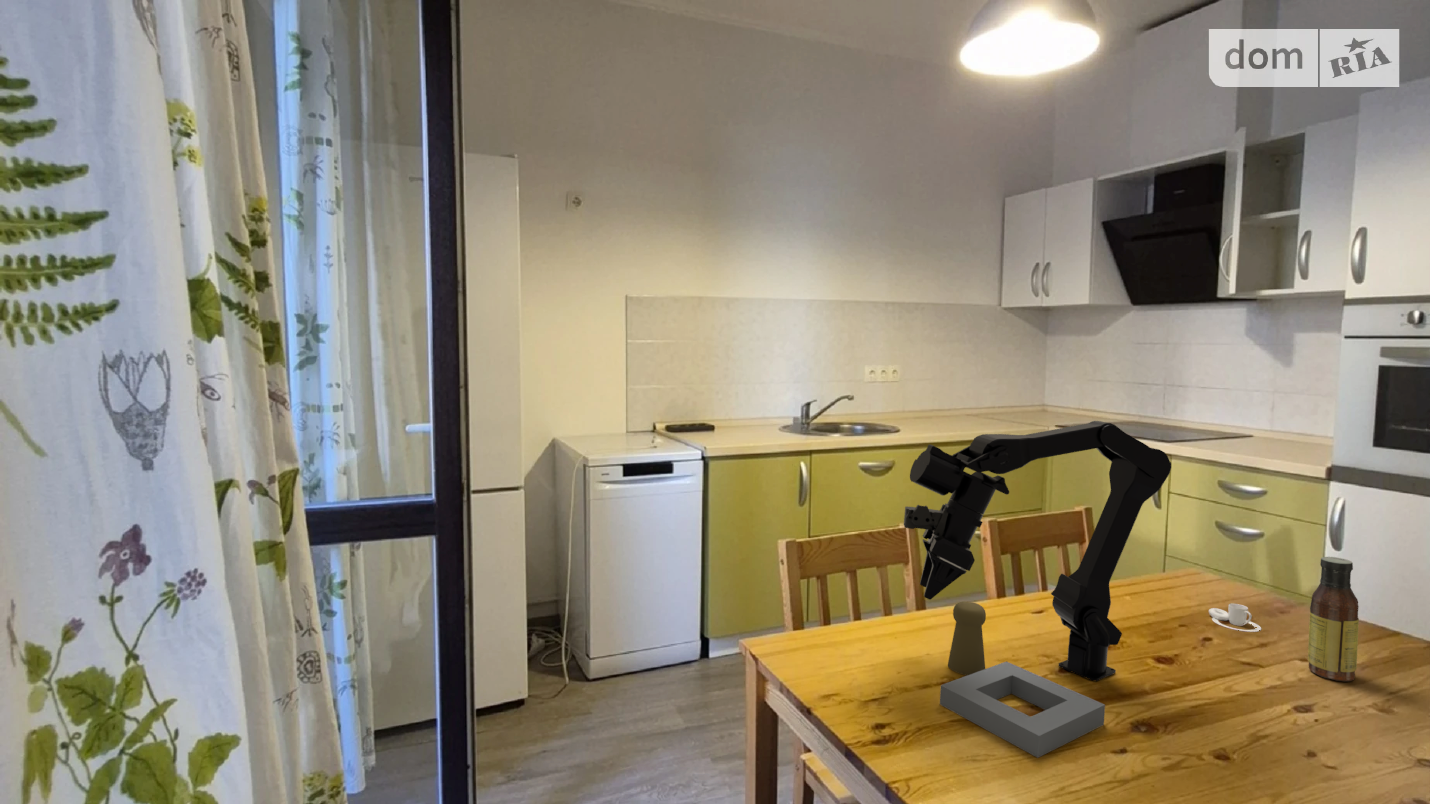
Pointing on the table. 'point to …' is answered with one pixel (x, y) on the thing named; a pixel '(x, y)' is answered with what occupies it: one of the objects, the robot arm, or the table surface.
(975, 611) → the brown pawn
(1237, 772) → the table surface
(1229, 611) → the teacup and saucer
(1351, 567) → the sauce bottle
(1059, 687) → the socket plate
